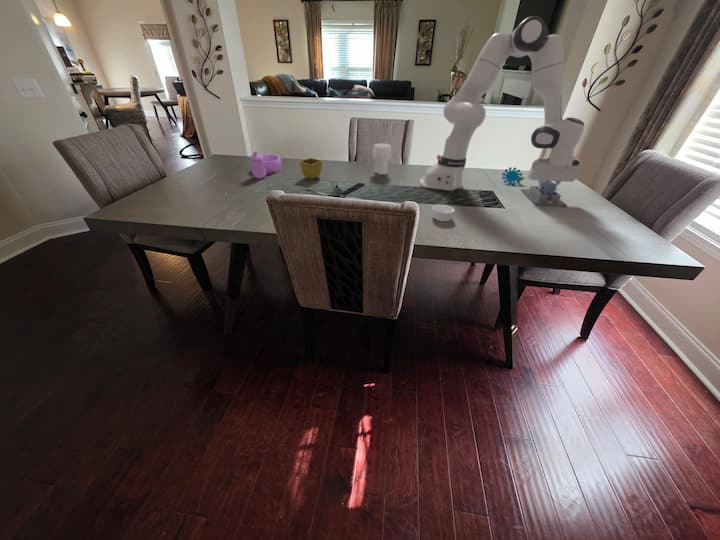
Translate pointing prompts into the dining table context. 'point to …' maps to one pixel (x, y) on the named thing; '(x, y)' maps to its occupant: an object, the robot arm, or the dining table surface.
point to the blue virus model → (512, 176)
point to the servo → (548, 188)
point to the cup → (381, 157)
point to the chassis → (543, 197)
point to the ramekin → (442, 212)
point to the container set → (264, 164)
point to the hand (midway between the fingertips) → (545, 189)
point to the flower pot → (311, 167)
